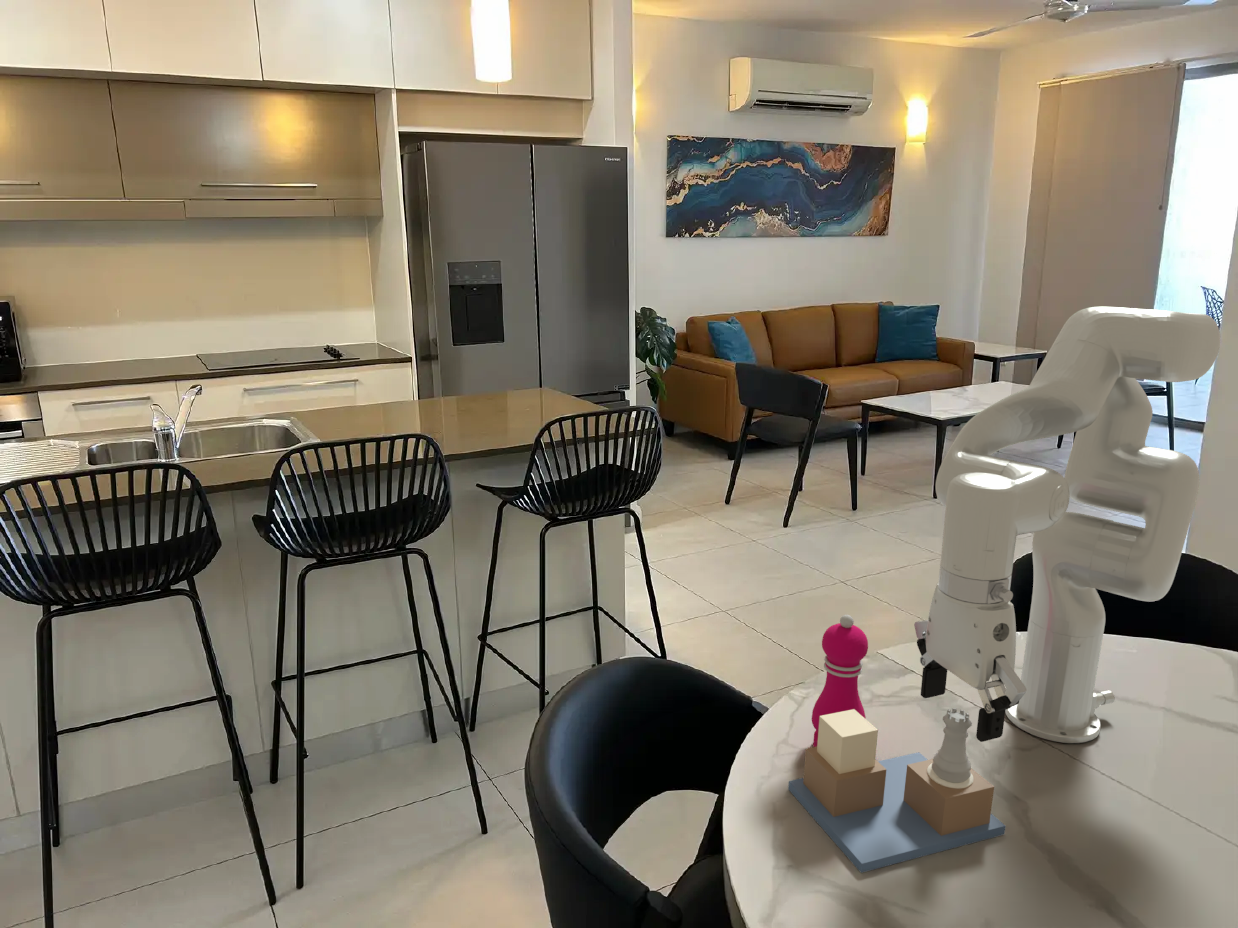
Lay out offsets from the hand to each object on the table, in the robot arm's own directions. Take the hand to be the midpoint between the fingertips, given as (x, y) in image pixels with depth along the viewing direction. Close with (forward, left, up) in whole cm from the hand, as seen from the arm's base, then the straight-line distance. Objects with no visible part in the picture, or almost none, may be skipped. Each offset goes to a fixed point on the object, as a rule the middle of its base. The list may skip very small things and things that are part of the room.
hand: (959, 715), depth 104 cm
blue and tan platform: (+6, -3, -14) cm, 15 cm away
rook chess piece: (+1, 0, -8) cm, 8 cm away
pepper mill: (+5, -17, -14) cm, 23 cm away
